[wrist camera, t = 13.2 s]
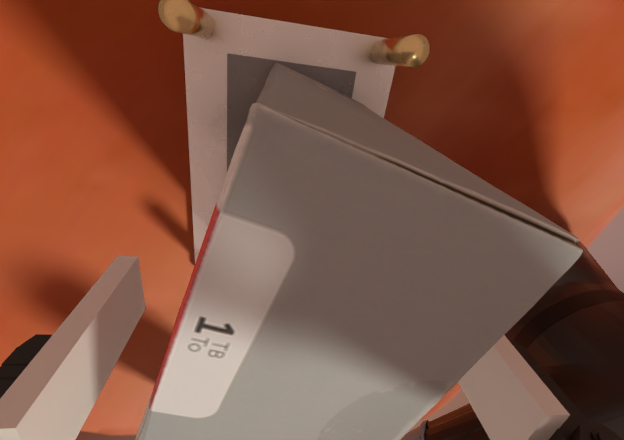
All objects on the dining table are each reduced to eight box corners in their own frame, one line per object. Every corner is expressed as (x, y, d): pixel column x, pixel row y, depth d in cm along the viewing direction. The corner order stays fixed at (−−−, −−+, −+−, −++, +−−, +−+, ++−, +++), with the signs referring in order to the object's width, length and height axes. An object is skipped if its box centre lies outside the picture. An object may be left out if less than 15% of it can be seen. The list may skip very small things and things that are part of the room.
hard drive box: (272, 58, 22) (261, 70, 4) (366, 105, 24) (619, 243, 6) (209, 236, 28) (95, 548, 10) (288, 261, 30) (307, 553, 12)
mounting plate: (395, 41, 23) (440, 35, 17) (344, 275, 33) (360, 327, 27) (186, 7, 21) (147, -14, 15) (198, 270, 31) (178, 325, 25)
